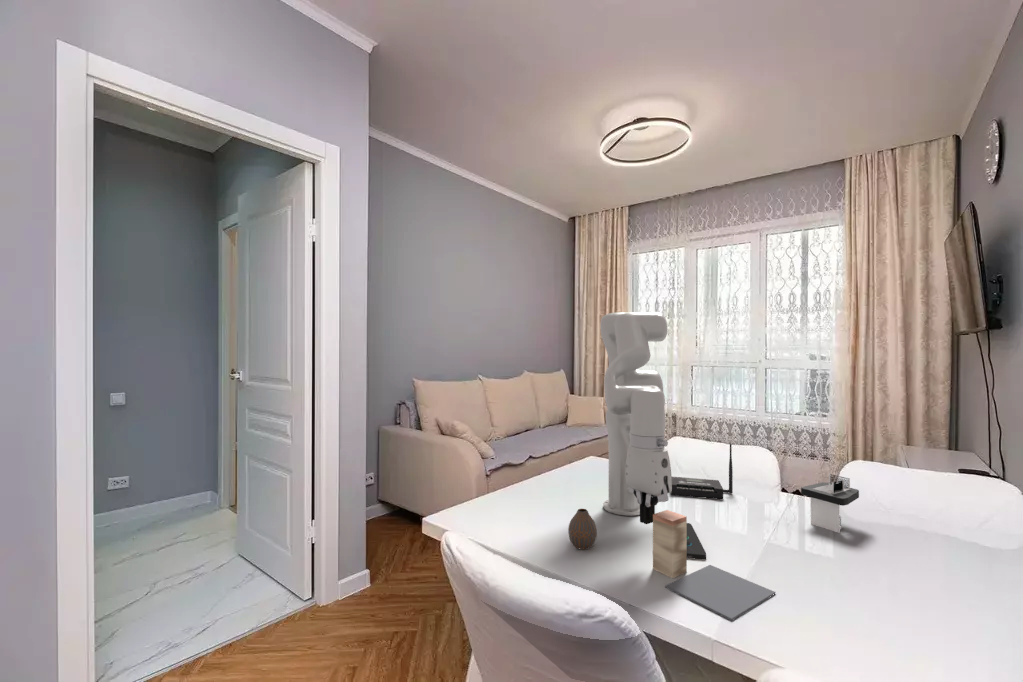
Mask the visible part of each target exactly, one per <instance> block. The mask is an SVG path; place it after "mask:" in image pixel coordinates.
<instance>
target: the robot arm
mask: <svg viewBox="0 0 1023 682" xmlns="http://www.w3.org/2000/svg"><path fill="white" fill-rule="evenodd" d="M600 334H601V335H600V337H601V339H602V342H603V346H604V348H605V350H606V353H607V359H608V366H607V369H606V371H605V373H604V379H603V381H604V382H603V383H604V384H603V386H604V388H603V389H604V399H605V406H606V409H607V410H606V412H605V425H606V430H607V442H608V499H607V500H605V501H603V503H602V504H603V505H602V506H603V509H604V510H605V511H607V512H608V513H610V514H614V515H618V516H626V517H627V516H628V517H629V516H630V517H633V516H639V522H640V523H641V524H644V525H649V524H653V514H655V513H656V506H657V505H658V503H665V502H668V501H669V495H668V494H671V491H672V477H673V476H672V467H671V460H670V455H669V452H668V449H665V447H668V445H669V442H668V440H665V430H666V410H665V404H666V396H665V393H664V392H665V391H664V384H663V380H662V376H661V375H660V373H659V372H658V371H657V370H652V369H640V368H642V367H644V366H645V365H647V364H648V362H649V361H650V359H651V350H650V346H649V342H650V343H651V342H655V343H657V342H663V341H664V340H665V339H666V337H667V334H668V322H667V320H666V318H665V316H664V314H663V313H662V312H658V311H629V312H626V311H622V312H621V311H619V312H610V313H607V314H605V315H603V316H602V317H601V320H600Z"/></svg>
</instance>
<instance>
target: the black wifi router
mask: <svg viewBox="0 0 1023 682" xmlns="http://www.w3.org/2000/svg"><path fill="white" fill-rule="evenodd" d="M732 448H733V447H732V443H729V461H728V489H727V488H723V485H721V481H720V480H718V479H707V478H697V477H695V478H693V477H682V476H681V477H680V476H672V491H671V492H670V495H671V496H676V495H679V496H678V497H687V496H693V497H692V498H698V497H706V498H705V499H709V498H717V499H716V500H720V499H723V500H724V493H727V494H730V493H733V494H734V491H733V484H734V483H733V480H734V479H733V473H734V471H733V459H732V453H733V452H732Z"/></svg>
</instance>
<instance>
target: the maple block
mask: <svg viewBox="0 0 1023 682" xmlns="http://www.w3.org/2000/svg"><path fill="white" fill-rule="evenodd" d="M687 521H688V520H687V516H686V515H684V514H681V513H677V512H675V511H672V510H668V509H666V510H662V511H659V512H655V514H653V522H652V570H654V571H655V572H658V573H660V574H662V575H664V576H667V577H669V578H670V579H675V578H676V577H678V576H681V575H683V574H686V573H687V571H688V570H687V566H688V565H687V559H688V558H687V523H688V522H687Z"/></svg>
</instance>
